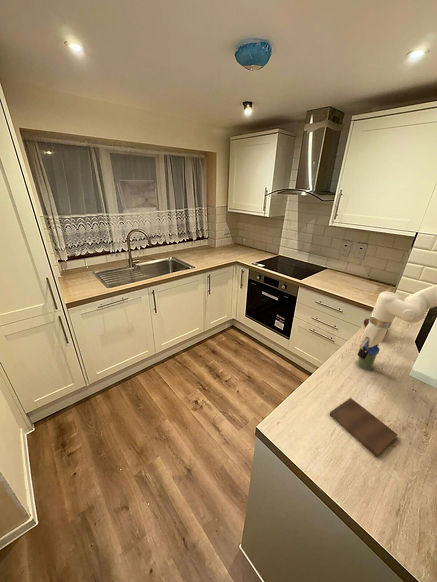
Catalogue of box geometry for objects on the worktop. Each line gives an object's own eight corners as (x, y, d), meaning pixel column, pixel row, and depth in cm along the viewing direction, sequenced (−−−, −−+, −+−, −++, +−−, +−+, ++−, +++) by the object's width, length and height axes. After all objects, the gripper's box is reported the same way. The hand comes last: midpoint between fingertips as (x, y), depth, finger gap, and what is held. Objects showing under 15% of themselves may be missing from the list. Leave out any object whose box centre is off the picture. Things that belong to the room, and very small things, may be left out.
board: (396, 437, 75) (397, 434, 75) (376, 457, 70) (377, 453, 69) (349, 400, 88) (350, 397, 87) (329, 414, 82) (330, 411, 81)
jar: (375, 366, 104) (380, 349, 101) (367, 371, 101) (373, 354, 98) (361, 358, 109) (366, 342, 105) (354, 363, 106) (359, 346, 102)
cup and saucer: (370, 334, 127) (374, 324, 125) (358, 322, 138) (361, 313, 135) (392, 334, 128) (396, 325, 125) (377, 322, 139) (381, 313, 136)
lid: (366, 343, 106) (366, 340, 106) (382, 351, 101) (383, 348, 100) (357, 348, 103) (358, 345, 102) (373, 356, 98) (374, 354, 97)
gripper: (382, 311, 103) (368, 344, 111) (359, 321, 94) (346, 355, 102) (400, 320, 97) (385, 353, 105) (378, 331, 89) (362, 366, 97)
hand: (366, 354), depth 104 cm, fingers closed on lid, 6 cm apart
